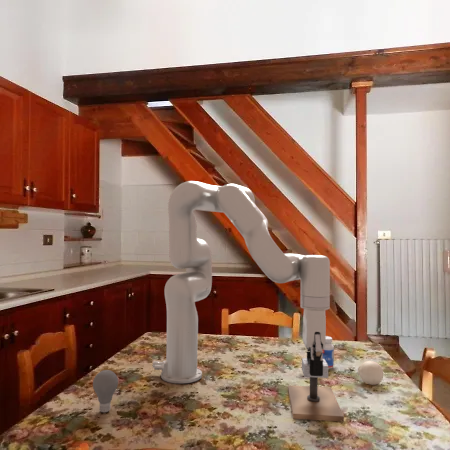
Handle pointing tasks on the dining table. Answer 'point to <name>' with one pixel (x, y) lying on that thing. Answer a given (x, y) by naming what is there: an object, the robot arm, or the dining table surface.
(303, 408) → the peg on tan base
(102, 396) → the light bulb
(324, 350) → the pill bottle
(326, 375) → the link
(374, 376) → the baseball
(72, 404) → the dining table surface
